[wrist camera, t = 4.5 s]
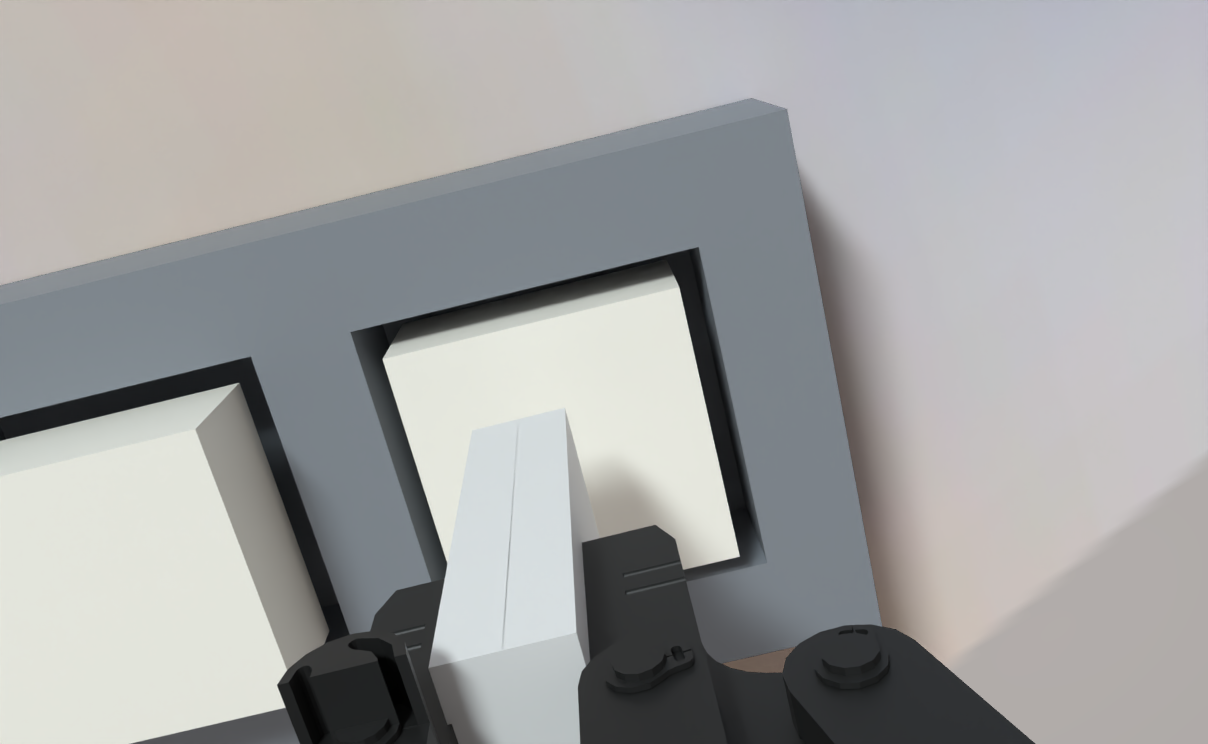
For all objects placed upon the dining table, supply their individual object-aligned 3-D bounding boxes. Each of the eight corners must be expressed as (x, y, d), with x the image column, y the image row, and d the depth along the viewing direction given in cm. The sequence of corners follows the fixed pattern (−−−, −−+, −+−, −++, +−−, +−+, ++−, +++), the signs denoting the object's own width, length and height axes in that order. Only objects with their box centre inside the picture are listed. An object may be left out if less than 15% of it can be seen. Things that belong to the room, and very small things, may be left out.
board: (-255, 799, 25) (-381, 917, 22) (-484, 406, 22) (-672, 471, 19) (838, 545, 24) (882, 626, 21) (751, 98, 21) (787, 108, 18)
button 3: (475, 560, 22) (465, 620, 20) (403, 323, 21) (382, 359, 18) (721, 502, 22) (739, 556, 20) (666, 259, 20) (679, 286, 18)
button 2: (73, 690, 21) (13, 770, 19) (-37, 449, 19) (-118, 504, 17) (329, 630, 21) (299, 703, 18) (239, 382, 19) (195, 429, 17)
